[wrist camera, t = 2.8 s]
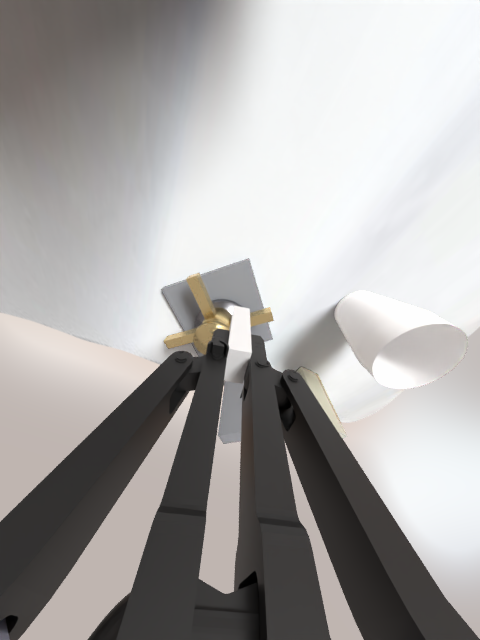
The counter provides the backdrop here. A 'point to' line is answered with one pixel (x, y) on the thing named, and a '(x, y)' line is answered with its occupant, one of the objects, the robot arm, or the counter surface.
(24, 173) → the counter surface
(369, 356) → the cup
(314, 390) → the skincare box
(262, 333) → the stand
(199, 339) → the capstan
